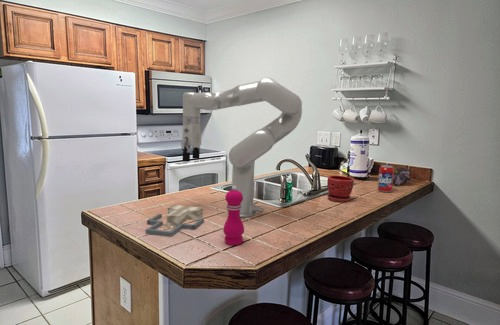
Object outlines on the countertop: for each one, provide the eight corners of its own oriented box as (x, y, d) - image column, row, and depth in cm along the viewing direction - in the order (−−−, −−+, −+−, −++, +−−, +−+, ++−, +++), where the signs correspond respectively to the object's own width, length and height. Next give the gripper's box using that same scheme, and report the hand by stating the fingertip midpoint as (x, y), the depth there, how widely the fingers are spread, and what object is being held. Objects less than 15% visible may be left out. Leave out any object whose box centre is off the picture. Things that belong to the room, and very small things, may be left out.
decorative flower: (381, 167, 218) (404, 161, 216) (383, 182, 222) (405, 176, 221) (390, 177, 204) (414, 171, 203) (392, 193, 209) (416, 187, 208)
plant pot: (343, 204, 163) (344, 181, 162) (321, 199, 173) (322, 176, 171) (357, 200, 172) (358, 177, 170) (335, 195, 182) (337, 174, 180)
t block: (202, 216, 141) (202, 207, 141) (188, 227, 128) (188, 217, 127) (173, 213, 145) (173, 204, 144) (156, 223, 131) (156, 214, 131)
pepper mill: (223, 238, 118) (223, 183, 115) (243, 237, 118) (244, 183, 115) (223, 246, 111) (223, 188, 108) (244, 245, 111) (245, 188, 108)
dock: (203, 222, 134) (203, 218, 134) (184, 238, 117) (184, 234, 117) (159, 217, 139) (159, 213, 139) (133, 232, 122) (133, 228, 122)
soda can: (393, 190, 194) (395, 165, 192) (390, 193, 188) (393, 167, 185) (379, 189, 198) (381, 164, 196) (376, 191, 192) (378, 166, 189)
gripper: (190, 122, 134) (190, 163, 137) (207, 121, 151) (206, 158, 153) (174, 121, 136) (174, 162, 139) (192, 120, 153) (192, 156, 155)
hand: (191, 159), depth 146 cm, fingers open, 9 cm apart
